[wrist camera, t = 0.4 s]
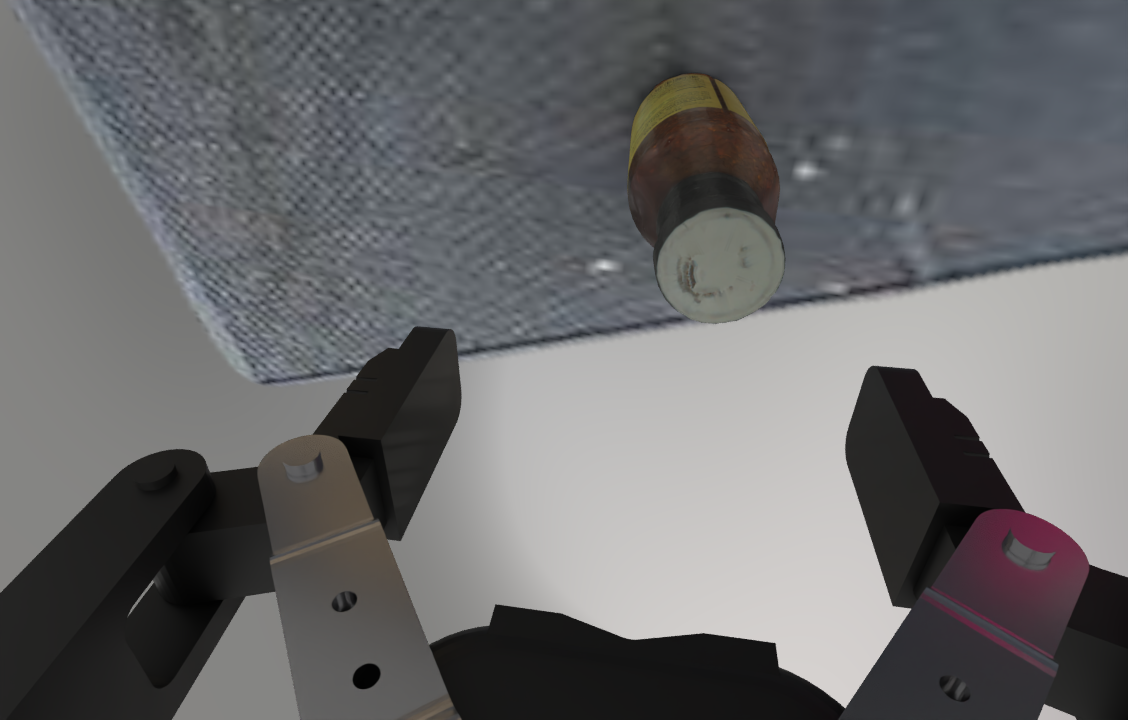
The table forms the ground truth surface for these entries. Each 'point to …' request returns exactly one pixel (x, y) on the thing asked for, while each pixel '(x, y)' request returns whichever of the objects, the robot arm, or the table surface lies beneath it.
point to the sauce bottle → (705, 199)
